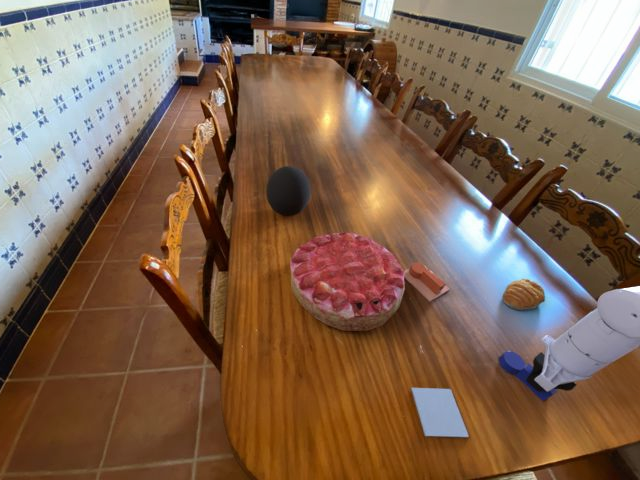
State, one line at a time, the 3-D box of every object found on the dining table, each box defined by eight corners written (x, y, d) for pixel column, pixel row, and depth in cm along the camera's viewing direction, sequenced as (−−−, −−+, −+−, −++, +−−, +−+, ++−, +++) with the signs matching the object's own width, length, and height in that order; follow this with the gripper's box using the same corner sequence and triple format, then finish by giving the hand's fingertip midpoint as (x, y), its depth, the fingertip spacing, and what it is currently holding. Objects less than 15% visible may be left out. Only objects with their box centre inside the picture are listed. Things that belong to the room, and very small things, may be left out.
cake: (423, 323, 61) (435, 298, 56) (306, 345, 57) (308, 321, 52) (372, 243, 80) (378, 220, 76) (282, 256, 76) (282, 232, 71)
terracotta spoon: (443, 290, 69) (448, 282, 67) (433, 296, 67) (438, 288, 65) (415, 265, 74) (419, 257, 72) (405, 270, 73) (409, 262, 71)
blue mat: (449, 389, 52) (450, 388, 52) (468, 437, 47) (469, 437, 47) (411, 388, 52) (411, 387, 52) (424, 436, 47) (425, 435, 46)
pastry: (521, 319, 65) (531, 309, 62) (492, 296, 69) (501, 285, 67) (543, 302, 69) (553, 292, 66) (514, 281, 73) (523, 271, 71)
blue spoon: (550, 393, 53) (561, 386, 51) (540, 404, 52) (550, 397, 50) (504, 352, 59) (513, 344, 57) (494, 360, 57) (502, 353, 55)
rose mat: (449, 290, 69) (449, 289, 69) (429, 302, 67) (430, 301, 66) (419, 264, 75) (419, 263, 75) (399, 273, 72) (400, 272, 72)
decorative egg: (308, 202, 92) (315, 160, 83) (305, 229, 83) (312, 184, 73) (269, 197, 93) (271, 154, 83) (262, 223, 83) (263, 177, 74)
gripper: (582, 304, 50) (534, 344, 59) (538, 343, 44) (491, 380, 52) (634, 339, 45) (573, 377, 54) (593, 388, 39) (532, 421, 48)
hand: (536, 381), depth 53 cm, fingers closed on blue spoon, 2 cm apart
